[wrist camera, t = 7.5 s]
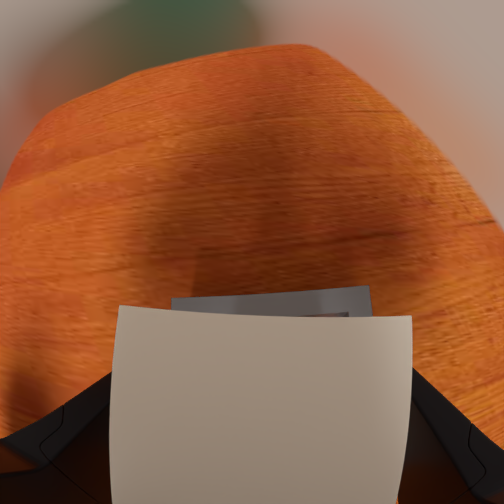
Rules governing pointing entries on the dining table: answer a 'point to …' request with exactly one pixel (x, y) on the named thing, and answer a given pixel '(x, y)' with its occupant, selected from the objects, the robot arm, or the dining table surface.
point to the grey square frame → (285, 303)
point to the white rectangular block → (258, 408)
